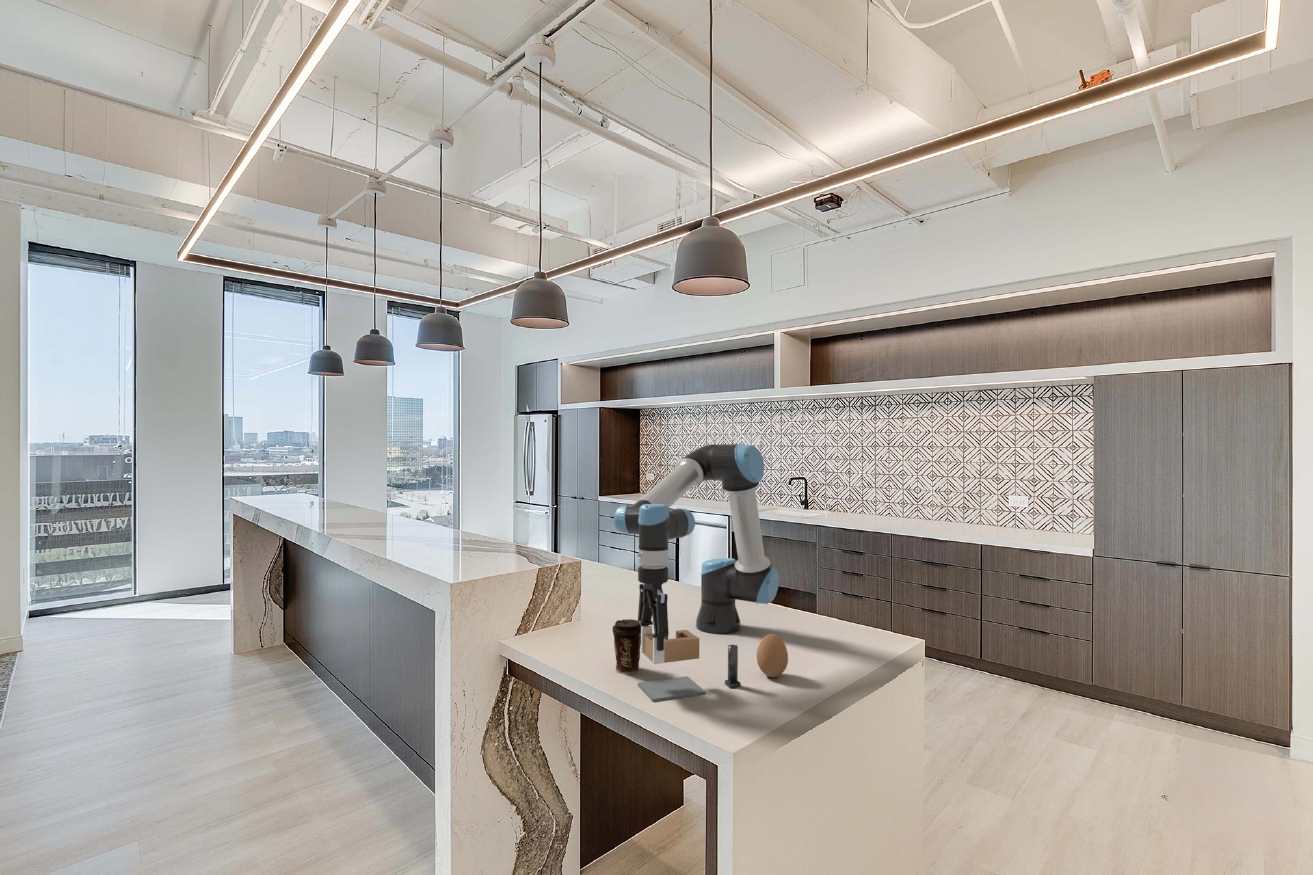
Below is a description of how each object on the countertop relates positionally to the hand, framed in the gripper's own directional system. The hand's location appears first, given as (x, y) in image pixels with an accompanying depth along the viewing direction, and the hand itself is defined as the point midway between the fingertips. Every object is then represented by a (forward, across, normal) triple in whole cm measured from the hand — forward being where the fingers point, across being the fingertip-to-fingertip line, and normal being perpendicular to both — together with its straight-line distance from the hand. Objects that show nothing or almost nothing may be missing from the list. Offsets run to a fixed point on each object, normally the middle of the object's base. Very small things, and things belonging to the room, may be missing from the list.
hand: (652, 657), depth 153 cm
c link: (0, 0, +5) cm, 5 cm away
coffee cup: (+9, -17, -1) cm, 19 cm away
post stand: (+9, +3, +21) cm, 23 cm away
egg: (+9, +1, +34) cm, 35 cm away
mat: (+9, 0, +5) cm, 10 cm away
